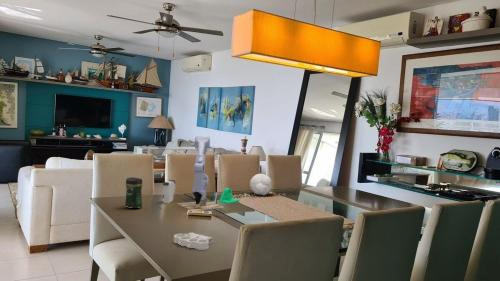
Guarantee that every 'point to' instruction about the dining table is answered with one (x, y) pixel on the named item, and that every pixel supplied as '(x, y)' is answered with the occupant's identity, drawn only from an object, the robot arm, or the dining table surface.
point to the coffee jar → (133, 192)
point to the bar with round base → (200, 204)
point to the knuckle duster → (193, 240)
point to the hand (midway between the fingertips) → (197, 203)
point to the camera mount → (227, 197)
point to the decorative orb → (260, 184)
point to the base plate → (192, 206)
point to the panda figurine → (168, 191)
